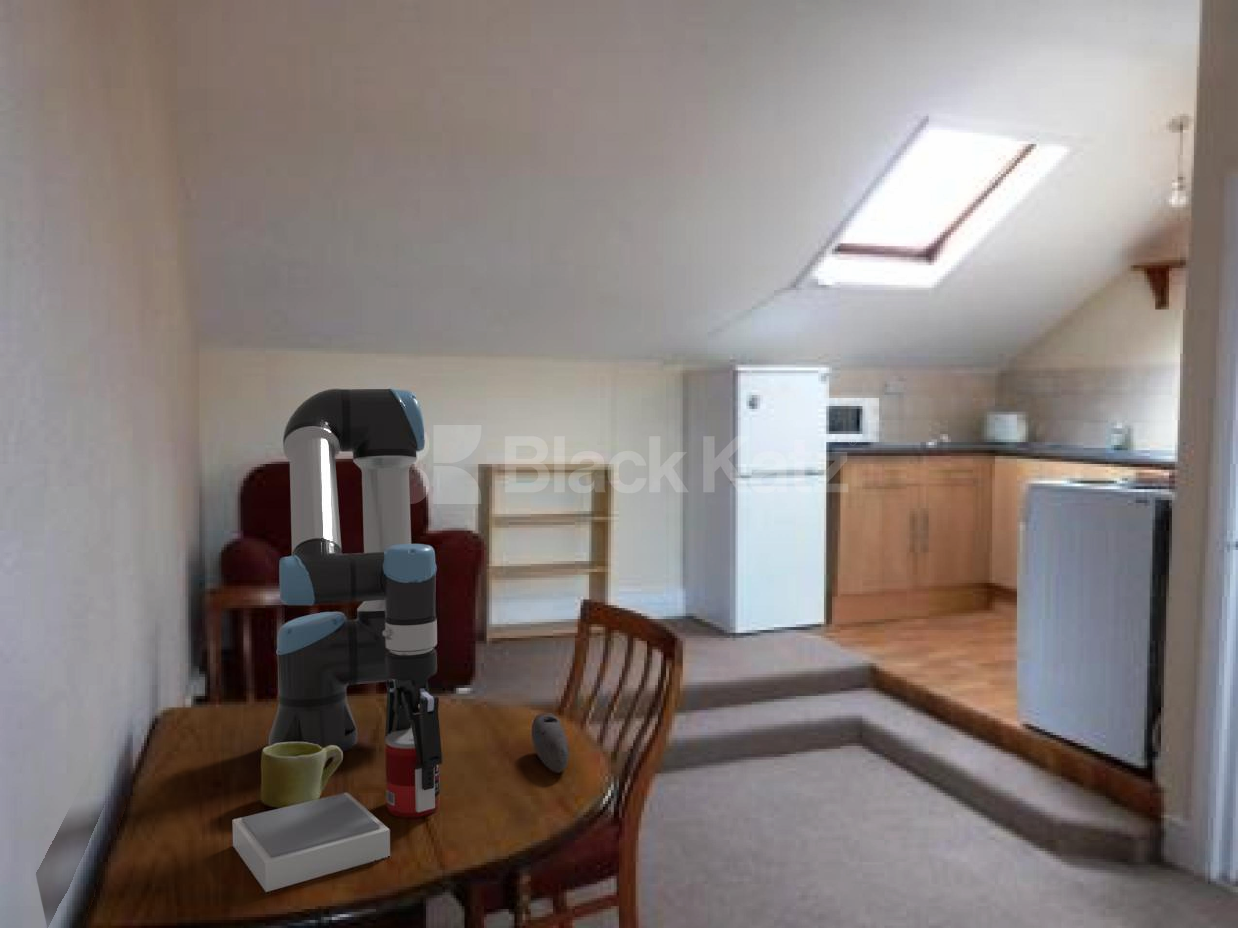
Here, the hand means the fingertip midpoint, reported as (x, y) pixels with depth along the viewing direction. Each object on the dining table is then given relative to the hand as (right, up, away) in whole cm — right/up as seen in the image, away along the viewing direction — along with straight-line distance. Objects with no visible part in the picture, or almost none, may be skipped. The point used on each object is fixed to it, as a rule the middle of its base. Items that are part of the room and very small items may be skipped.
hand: (413, 799), depth 139 cm
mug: (-18, -2, +4) cm, 18 cm away
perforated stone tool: (+19, -1, +18) cm, 27 cm away
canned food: (0, -1, 0) cm, 1 cm away
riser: (-11, -2, -14) cm, 18 cm away
